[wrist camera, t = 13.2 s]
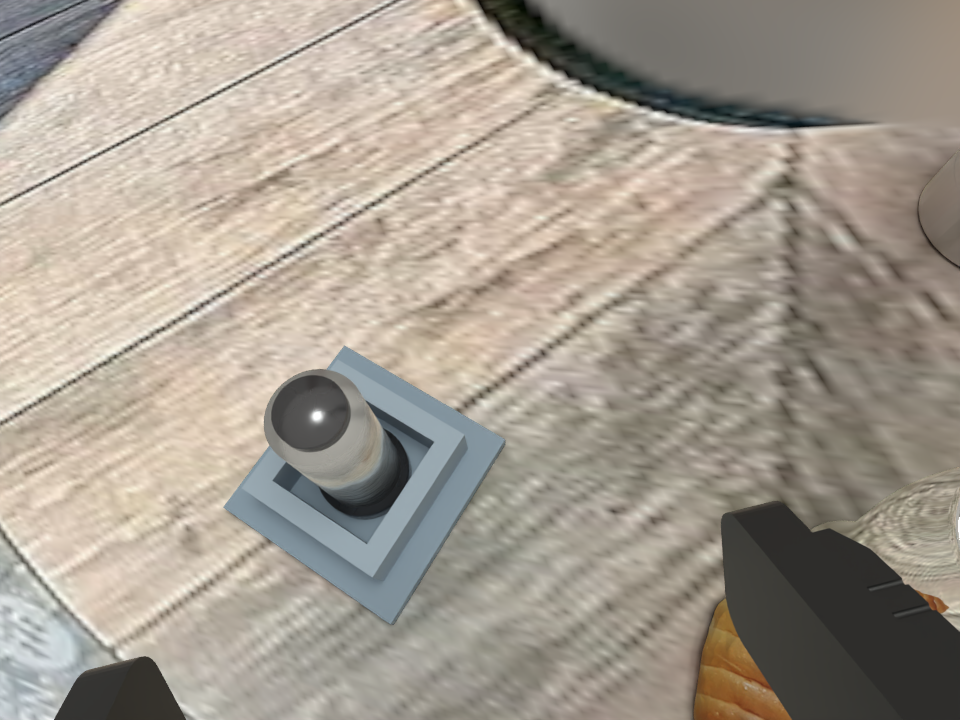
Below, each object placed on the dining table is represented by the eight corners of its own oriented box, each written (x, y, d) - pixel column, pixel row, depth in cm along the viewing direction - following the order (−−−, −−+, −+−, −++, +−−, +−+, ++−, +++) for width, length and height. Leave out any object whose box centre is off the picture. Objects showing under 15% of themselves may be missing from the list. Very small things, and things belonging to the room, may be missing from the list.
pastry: (781, 812, 32) (814, 834, 28) (655, 730, 34) (671, 742, 30) (847, 635, 35) (884, 635, 31) (728, 567, 36) (750, 561, 33)
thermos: (357, 417, 39) (296, 334, 29) (428, 458, 38) (393, 388, 27) (306, 491, 38) (222, 432, 27) (379, 536, 37) (322, 494, 26)
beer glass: (807, 656, 34) (1006, 676, 20) (766, 523, 37) (917, 461, 23) (936, 636, 34) (1222, 642, 20) (886, 505, 37) (1109, 432, 23)
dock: (348, 351, 42) (332, 325, 39) (505, 443, 39) (504, 424, 36) (230, 510, 39) (200, 498, 35) (393, 624, 36) (379, 624, 32)
